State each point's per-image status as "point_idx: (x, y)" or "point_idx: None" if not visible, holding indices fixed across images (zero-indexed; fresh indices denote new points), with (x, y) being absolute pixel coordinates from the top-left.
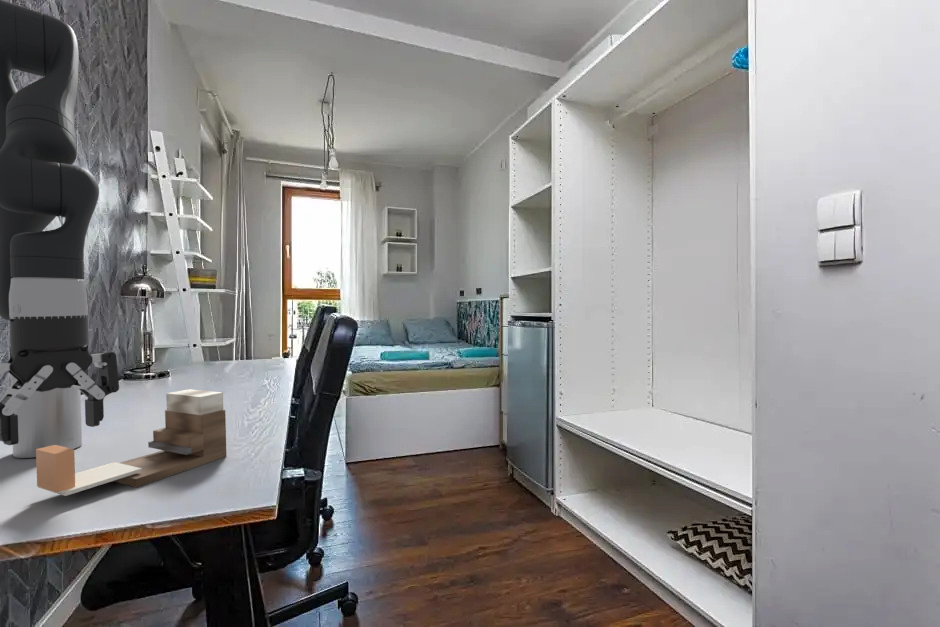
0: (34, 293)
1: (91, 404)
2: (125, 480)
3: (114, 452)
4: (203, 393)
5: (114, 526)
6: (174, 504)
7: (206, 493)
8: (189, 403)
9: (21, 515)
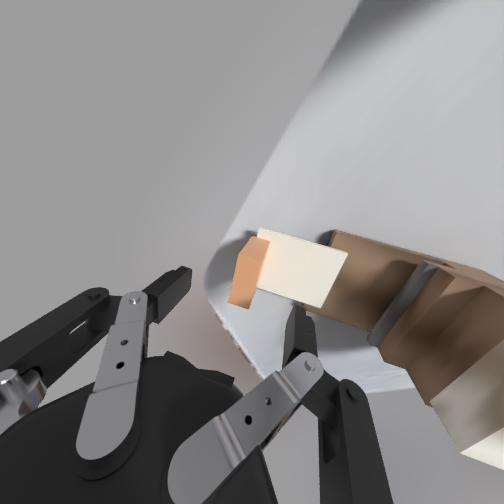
0: None
1: (285, 358)
2: None
3: None
4: None
5: (233, 333)
6: (273, 351)
7: None
8: (474, 408)
9: (231, 245)
